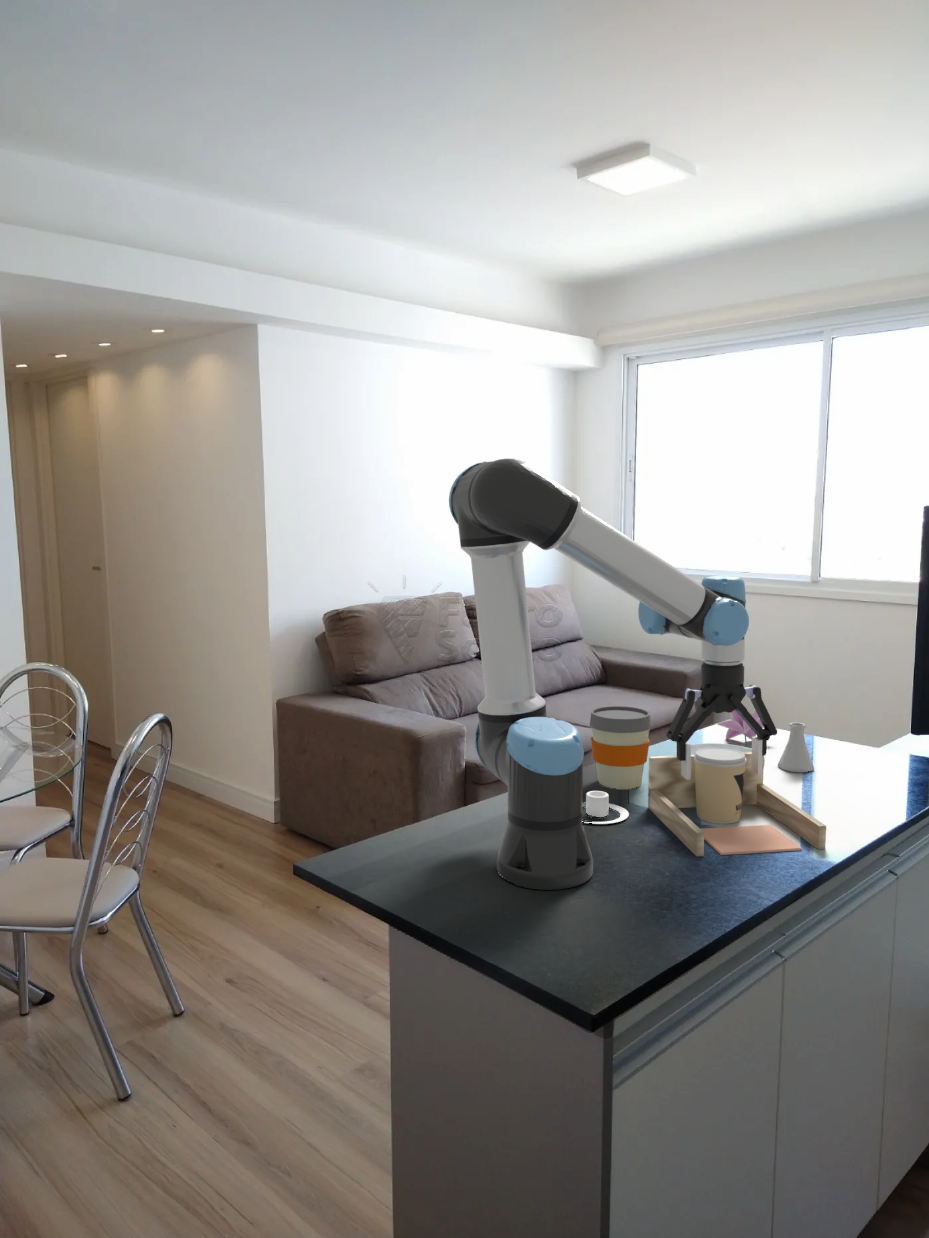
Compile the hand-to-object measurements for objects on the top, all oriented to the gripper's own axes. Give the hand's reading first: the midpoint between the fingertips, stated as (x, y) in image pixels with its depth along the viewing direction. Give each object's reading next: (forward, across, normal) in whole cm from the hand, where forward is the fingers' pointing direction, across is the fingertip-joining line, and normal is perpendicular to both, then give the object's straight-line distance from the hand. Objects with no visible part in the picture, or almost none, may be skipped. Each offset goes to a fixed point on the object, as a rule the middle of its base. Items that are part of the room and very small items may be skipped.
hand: (721, 775), depth 161 cm
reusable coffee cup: (+8, +12, -22) cm, 27 cm away
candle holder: (+8, +22, -4) cm, 24 cm away
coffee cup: (+8, 0, 0) cm, 8 cm away
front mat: (+8, 0, +12) cm, 14 cm away
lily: (+9, -26, -48) cm, 55 cm away
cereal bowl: (+8, -8, -17) cm, 21 cm away
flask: (+9, -28, -26) cm, 40 cm away
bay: (+8, 0, +5) cm, 10 cm away
